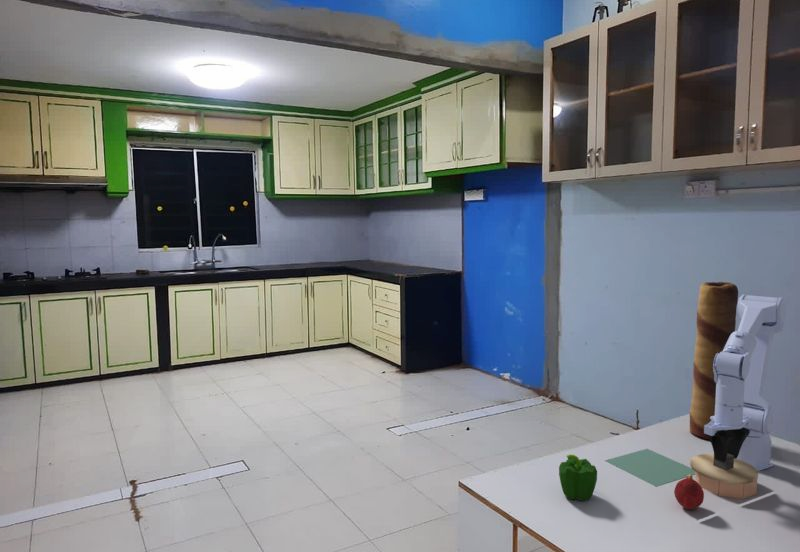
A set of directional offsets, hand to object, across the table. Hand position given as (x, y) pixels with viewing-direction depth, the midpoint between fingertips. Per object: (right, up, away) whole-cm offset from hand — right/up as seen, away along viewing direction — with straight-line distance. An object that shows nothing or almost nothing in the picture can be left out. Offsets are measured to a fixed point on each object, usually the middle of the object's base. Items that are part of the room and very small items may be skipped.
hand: (726, 458), depth 134 cm
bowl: (0, -7, +1) cm, 7 cm away
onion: (-14, -8, -9) cm, 19 cm away
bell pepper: (-36, -8, -3) cm, 37 cm away
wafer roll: (+14, -4, +32) cm, 35 cm away
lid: (0, -3, +1) cm, 3 cm away
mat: (-13, -6, +11) cm, 18 cm away
